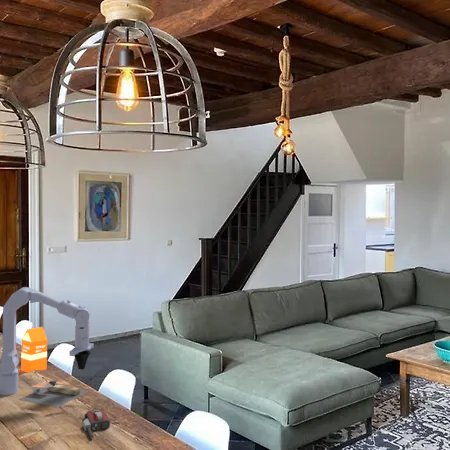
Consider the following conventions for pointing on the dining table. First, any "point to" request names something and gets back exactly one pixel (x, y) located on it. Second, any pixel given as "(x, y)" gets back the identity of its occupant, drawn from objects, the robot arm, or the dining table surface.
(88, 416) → the walkie-talkie
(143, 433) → the dining table surface
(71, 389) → the link
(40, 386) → the block
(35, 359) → the orange juice
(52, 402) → the board
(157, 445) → the dining table surface
